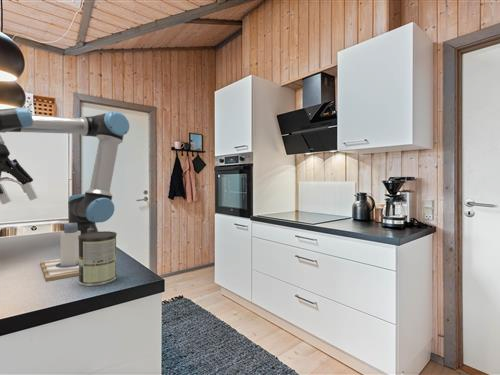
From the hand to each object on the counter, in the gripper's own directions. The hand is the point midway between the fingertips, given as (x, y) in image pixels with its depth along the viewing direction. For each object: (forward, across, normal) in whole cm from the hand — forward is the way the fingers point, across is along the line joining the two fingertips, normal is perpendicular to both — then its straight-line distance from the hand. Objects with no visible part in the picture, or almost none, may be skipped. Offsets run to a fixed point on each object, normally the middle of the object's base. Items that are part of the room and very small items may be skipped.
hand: (21, 200), depth 102 cm
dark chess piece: (+29, -10, +7) cm, 32 cm away
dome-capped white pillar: (+28, +7, +9) cm, 30 cm away
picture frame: (+29, +7, +9) cm, 31 cm away
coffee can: (+36, +21, +22) cm, 47 cm away
